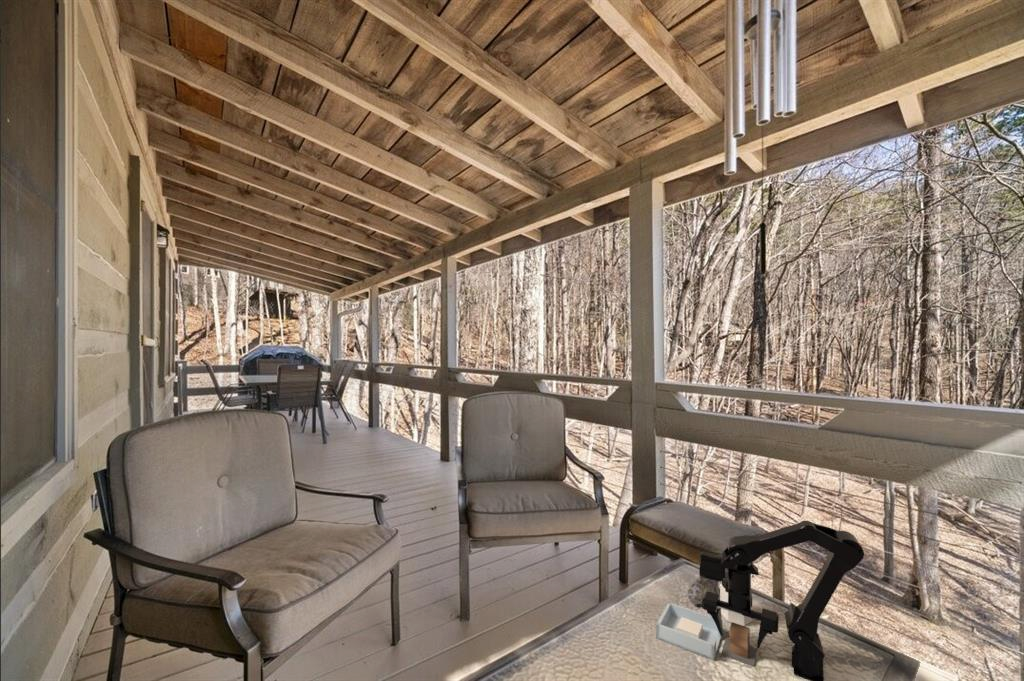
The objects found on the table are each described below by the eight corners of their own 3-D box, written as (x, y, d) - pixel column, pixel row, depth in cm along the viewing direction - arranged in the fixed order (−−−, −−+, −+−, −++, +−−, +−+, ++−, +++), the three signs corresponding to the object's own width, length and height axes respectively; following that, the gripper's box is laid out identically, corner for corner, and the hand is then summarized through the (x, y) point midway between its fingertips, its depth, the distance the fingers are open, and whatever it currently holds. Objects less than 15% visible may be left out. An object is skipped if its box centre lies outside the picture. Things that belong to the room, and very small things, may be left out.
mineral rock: (690, 608, 140) (690, 577, 141) (677, 590, 151) (677, 561, 151) (729, 609, 140) (729, 578, 140) (714, 590, 151) (714, 562, 151)
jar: (741, 629, 130) (741, 589, 130) (715, 615, 137) (715, 577, 137) (756, 619, 135) (756, 581, 135) (731, 606, 142) (731, 569, 142)
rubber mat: (757, 649, 121) (757, 648, 121) (754, 666, 115) (754, 665, 115) (725, 638, 126) (725, 637, 126) (721, 654, 119) (721, 653, 119)
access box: (722, 633, 128) (722, 620, 128) (714, 660, 117) (714, 646, 117) (668, 614, 137) (668, 602, 137) (656, 638, 126) (656, 624, 126)
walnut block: (749, 649, 121) (749, 627, 121) (747, 658, 117) (747, 636, 117) (731, 643, 123) (731, 622, 123) (729, 652, 120) (729, 630, 120)
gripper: (779, 583, 122) (780, 638, 122) (708, 563, 133) (708, 614, 132) (777, 602, 113) (777, 662, 112) (701, 579, 123) (701, 634, 123)
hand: (739, 641), depth 120 cm, fingers open, 9 cm apart
